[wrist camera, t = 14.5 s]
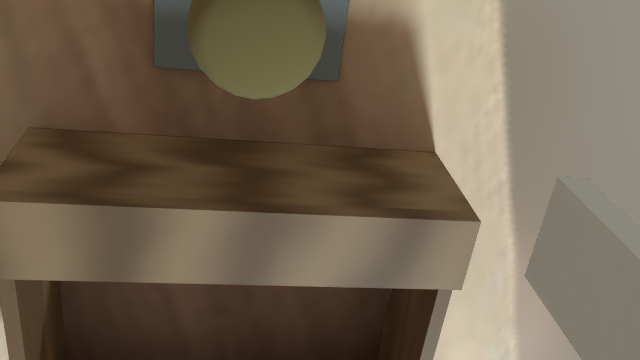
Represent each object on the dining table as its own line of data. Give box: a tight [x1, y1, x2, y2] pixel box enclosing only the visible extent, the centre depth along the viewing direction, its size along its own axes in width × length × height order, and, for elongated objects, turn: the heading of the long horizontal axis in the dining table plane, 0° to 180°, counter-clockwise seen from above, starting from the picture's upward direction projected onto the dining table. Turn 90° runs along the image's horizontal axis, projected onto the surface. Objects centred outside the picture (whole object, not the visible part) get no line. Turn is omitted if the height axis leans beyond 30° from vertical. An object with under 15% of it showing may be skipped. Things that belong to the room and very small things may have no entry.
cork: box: [186, 0, 326, 99], centre depth 26 cm, size 6×6×11 cm
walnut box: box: [0, 128, 481, 360], centre depth 37 cm, size 24×20×8 cm
